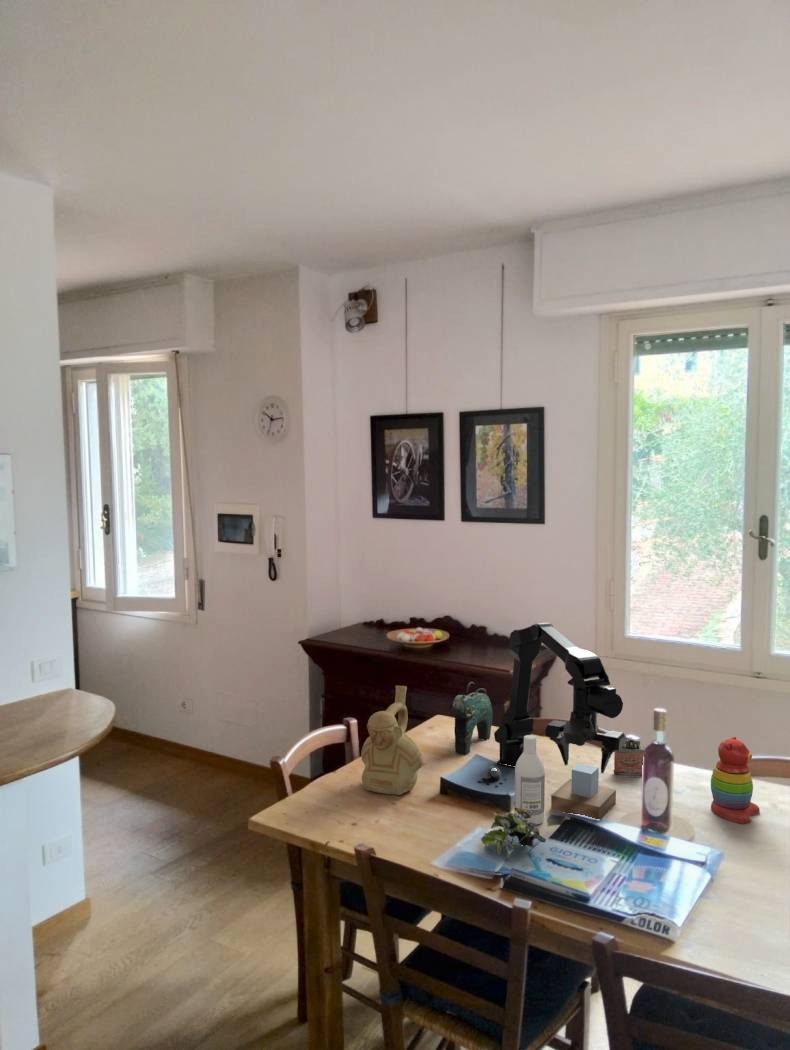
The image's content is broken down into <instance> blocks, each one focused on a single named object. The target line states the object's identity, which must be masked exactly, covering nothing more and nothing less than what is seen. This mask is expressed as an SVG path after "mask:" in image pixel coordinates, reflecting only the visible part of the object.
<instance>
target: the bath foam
mask: <svg viewBox="0 0 790 1050" xmlns="http://www.w3.org/2000/svg"><path fill="white" fill-rule="evenodd" d="M545 776H546V772H545V765H544V763H543V761H542V759H541V757H540V756H539V754H538V752H537V736H535V735H532V734H531V735H526V736H524V752H523V753H522V754H521V756H520V757H519V759H518V761H517V763H516V767H515V768H514V808H519V809H520V808H521V809H523V810H524V811H525V812H526V811H527V812H528V813H529V814H530V815H531V818H527V819H525V818H524V817H523V820H524V819H525V820H528V822H532V823H535V825H534V826H537V825H541V824H542V823H543V822H544V820H545V801H546V800H545V794H546V792H545V790H546V788H545V786H546V785H545V784H546V783H545V782H546V780H545V779H546V777H545ZM514 814H515V815H517V816H518V815H519V816H520V818H521V816H522V815H520V814H518V812H517V811H516V810H515V809H514Z"/></svg>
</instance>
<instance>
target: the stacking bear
mask: <svg viewBox="0 0 790 1050" xmlns="http://www.w3.org/2000/svg"><path fill="white" fill-rule="evenodd" d="M717 752H718V753H717V754H718V757H719V760H718V761H717V762H716V764H715V765H714V767H713V769H712V774H711V778H710V790H711V796H712V799H713V800H712V802H711V805H710V809H711V811H712V812H713V813H714V814H716V815H717V816H718V817H721V818H724V819H726V820H727V821H729V822H734V823H738V824H741V825H742V824H743V825H744V824H749V823H750V822H751V817H752V816H754V815H758V814H759V813H760V811H761V810H760V807H759V806H758V805H757V804H756V803H754V802H752V797H753V792H754V790H753V789H754V784H753V778H752V775H751V770H750V767H749V765H748V764H749V763H750V761H751V760H752V757H753V756H752V753H751V751H750V750H749V749H748V747H747V746H746V745H745V743H744V742H743V741H741V740H738V739H737V737H736V736H732V737H731V738H729V739H724V740H722V741H721V742H720V743H719V745H718V748H717Z"/></svg>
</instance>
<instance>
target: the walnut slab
mask: <svg viewBox="0 0 790 1050" xmlns="http://www.w3.org/2000/svg"><path fill="white" fill-rule="evenodd" d="M571 782H572V778H570V779H568V780H567V781H566V782H565V783H563V785H561V786H560V787H559V788H558V789H556V790H555V791H554V792H553V793H552V794H551V795H550V810H552V811H555V812H559V813H563V812H565V813H564V814H567V813H573V814H580V815H585V816H588V817H592V818H595V819H601V820H602V819H603V818H604V817H605V816H606V815H608V813H609V811H611V810H612V808H613V807H614V806H615V805H616V804H617V802H616V801H617V789H614V788H609V787H606V786H602V785H598V792H597V793H596V794H595V795H594V796H593V797H592V798H588V797H584V796H580V795H576V794H572V793H571Z"/></svg>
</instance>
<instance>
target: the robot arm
mask: <svg viewBox="0 0 790 1050" xmlns="http://www.w3.org/2000/svg"><path fill="white" fill-rule="evenodd" d="M508 638H509V651H510V653H511V655H512V656H513V658H514V659H513V660H514V661H513V666H512V667H513V669H512V676H511V677H512V678H511V686H510V687H511V688H510V696H509V697H510V699H509V706H508V708H507V710H506V711H505V712H504V713H503V715H502V718H501V721H500V726H499V727H497V729H496V730H495V731H494V733H493V736H494V737H493V738H494V741H495V742H496V743H498V744H499V759H498V760H496V764H497V763H501V764H507V765H511V766H515V767H516V763H517V761H518V759H519V757H520V756H521V754H522V753H523V752H524V736H526V735H532V733H533V732H534V727H533V726H534V721H535V720H534V718H533V717H531V714H530V713H529V711H528V705H529V699H530V697H529V696H530V688H531V679H532V669H533V662H534V661H535V659H537V656H538V655H539V653H540V651H541V647H542V644H543V645H544V646H545V647H547V649H549V651H551V652H552V653H553V654H554V655H555V656H557V657H558V658H559V660H561V661H562V663H564V669H565V671H566V672H567V674H569V676H570V677H571V678H570V679H569V680H567V684H568V685H569V686H572V710H571V711H570V718H569V720H568V722H567V721H564V720H563V721H562V720H557V719H554V720H552V721H550V722H549V723H547V724H546V725H545V727H544V736H545V737H548V738H549V740H550V741H552V742H554V743H555V744H556V745H557V747H558V750H559V752H560V756H561V758H562V761H563V763H564V766H568V764H569V760H570V759H569V757H570V753H569V752H570V750H569V749H570V745H571V744H572V745H575V746H578V747H582V746H584V745H585V744H586V742H593V741H596V742H601V745H602V746H603V747H602V748H600V751H601V762H600V773H601V774H604V772H605V770H606V769H607V766H608V763H609V762H610V759H611V757H612V756H613V755H612V754H614V752H615V751H616V750H620V749H621V748H622V747H623V746H624V745H626V739H627V737H626V735H625V733H624V732H621V731H618V730H617V731H616V730H608V731H607V732H606V733H601V732H597V731H598V730H599V725H598V722H597V721H598V714H600V715H602V716H604V717H607V718H609V719H615V718H617V717H618V716H619V715H620V714H621V713H622V710H623V707H624V702H623V699H622V697H621V696H620V695H619V694H617V689H616V688H615V687H610V685H611V682H610V679H609V675H608V674H607V672H606V670H605V668H604V665H603V662H602V659H601V658H600V657H599V656H598V655H597V654H596V653H593V652H592V651H589V650H586V649H583V648H580V647H578V646H576V644H574V643H573V642H572V641H570V640H569V639H568V638H567V637H566V636H564V635H563V634H562V633H561V632H559V631H558V630H557V629H556V628H555V627H554V625H553V624H552V623H551V622H539V623H537V622H536V623H534V624H532V625H531V626H529V627H525V628H521V629H514V630H512V631H511V632H510V634H509V637H508ZM501 764H500V765H501Z"/></svg>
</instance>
